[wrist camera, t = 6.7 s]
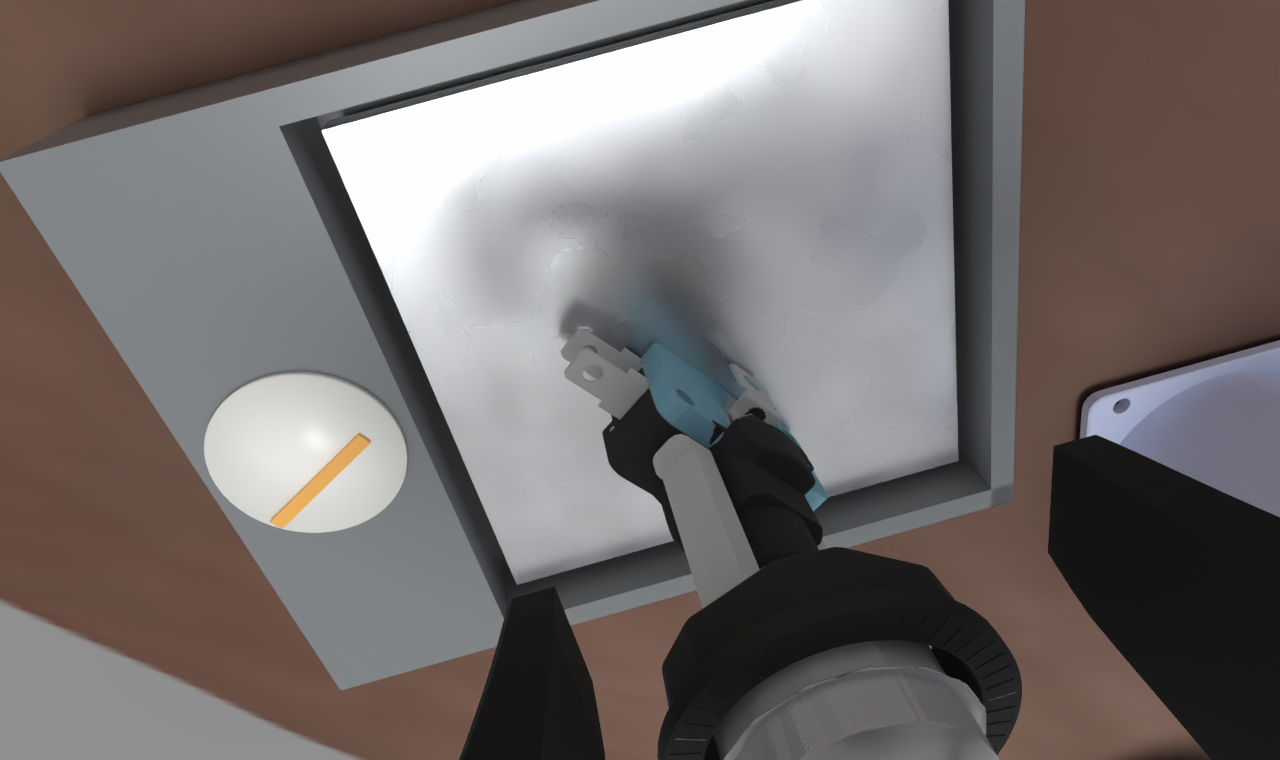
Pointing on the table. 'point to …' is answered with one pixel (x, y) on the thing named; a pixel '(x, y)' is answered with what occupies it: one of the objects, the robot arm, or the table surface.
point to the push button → (788, 590)
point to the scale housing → (382, 348)
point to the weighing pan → (676, 250)
